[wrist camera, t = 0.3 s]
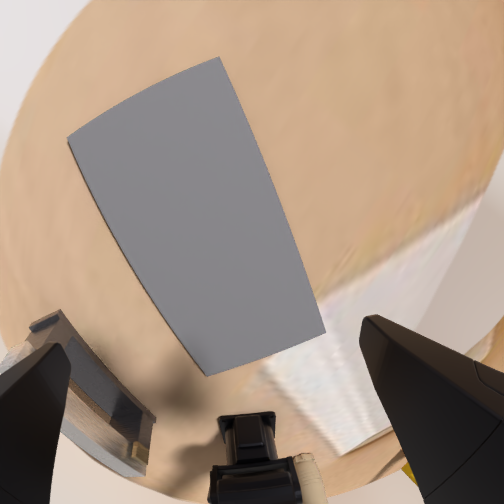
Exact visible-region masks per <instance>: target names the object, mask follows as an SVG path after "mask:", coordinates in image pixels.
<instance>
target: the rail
mask: <svg viewBox="0 0 504 504" xmlns="http://www.w3.org/2000/svg"><path fill="white" fill-rule="evenodd" d="M34 351H36V350H35V349H34V348H33V347H32V345H31V344H30V343H29V341H25V342H23V343H21V344H18V345H16V346H14V347H12V348H11V349H10V351H9V352H8V353H7V355H6V356H5V358H4V360H3V361H2V363H1V364H0V373H1V374H2V373H4V372H5V371H6V370H8V369H9V368H11V367H12V366H14V365H15V364H16V363H18V362H19V361H21V360H22V359H24V358H25V357H27V356H28V355H30V354H31V353H33V352H34ZM60 432H61V433H63V434H64V435H65V436H66V437H67V438H69V439H70V440H71V441H73V442H74V443H75V444H76V445H78V446H79V447H80V448H82V449H83V450H85V451H86V452H87V453H89V454H90V455H92V456H93V457H94V458H96V459H97V460H99V461H100V462H102V463H103V464H105V465H106V466H108V467H109V468H111V469H112V470H114V471H116V472H117V473H119V474H121V475H122V476H124V477H143V476H145V475H146V465H142V464H141V463H139V462H138V461H136V460H135V459H133V458H132V457H131V456H132V449H133V443H131V442H130V441H129V440H127V439H126V438H125V437H123V436H122V435H121V434H120V433H118V432H117V431H116V430H115V429H114V428H112V427H111V426H110V425H109V424H108V423H106V422H105V421H104V420H103V419H102V418H101V417H99V416H98V415H97V414H96V413H95V412H94V411H93V410H92V409H91V408H89V407H88V406H87V405H86V404H85V403H84V402H83V401H82V400H81V399H80V398H79V397H78V396H77V395H76V394H75V393H74V392H73V391H72V390H71V389H70V388H69V387H68V393H67V399H66V406H65V411H64V416H63V421H62V425H61V430H60Z"/></svg>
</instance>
